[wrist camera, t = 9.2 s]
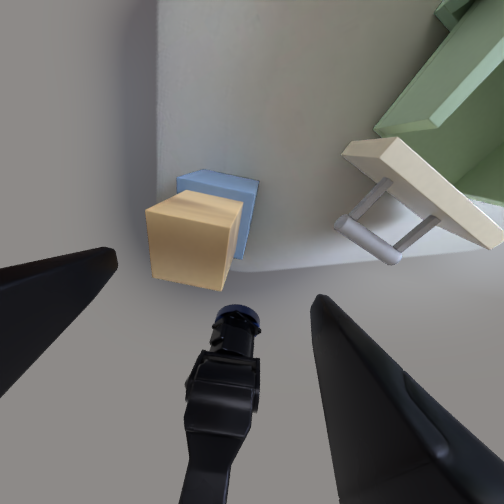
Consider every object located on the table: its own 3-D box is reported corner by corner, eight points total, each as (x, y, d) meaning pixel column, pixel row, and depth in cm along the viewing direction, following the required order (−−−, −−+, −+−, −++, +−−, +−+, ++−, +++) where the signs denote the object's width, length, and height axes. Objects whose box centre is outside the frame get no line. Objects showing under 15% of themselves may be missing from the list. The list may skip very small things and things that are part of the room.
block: (235, 251, 15) (221, 292, 11) (185, 241, 15) (151, 278, 11) (243, 201, 13) (230, 227, 9) (186, 189, 13) (144, 209, 9)
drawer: (380, 253, 20) (423, 293, 14) (304, 201, 18) (319, 225, 12) (603, 64, 12) (890, -9, 6) (512, -69, 10) (817, -343, 4)
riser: (249, 232, 21) (242, 259, 16) (200, 221, 21) (177, 246, 15) (259, 180, 18) (255, 194, 13) (203, 169, 18) (176, 177, 13)
